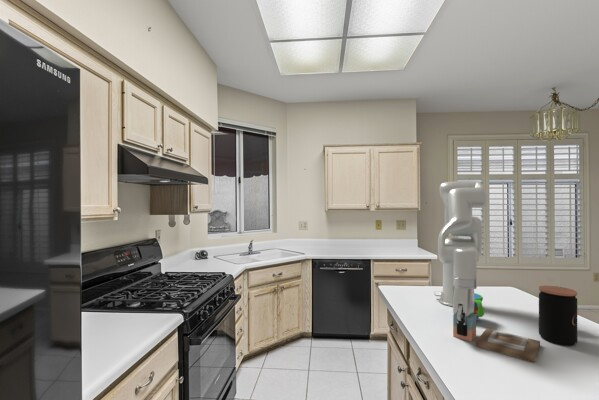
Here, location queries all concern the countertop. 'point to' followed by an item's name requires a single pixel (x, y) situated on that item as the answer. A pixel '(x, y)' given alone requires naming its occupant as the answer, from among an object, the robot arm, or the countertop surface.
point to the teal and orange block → (470, 327)
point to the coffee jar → (558, 315)
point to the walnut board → (509, 344)
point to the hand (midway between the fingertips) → (464, 331)
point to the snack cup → (478, 306)
